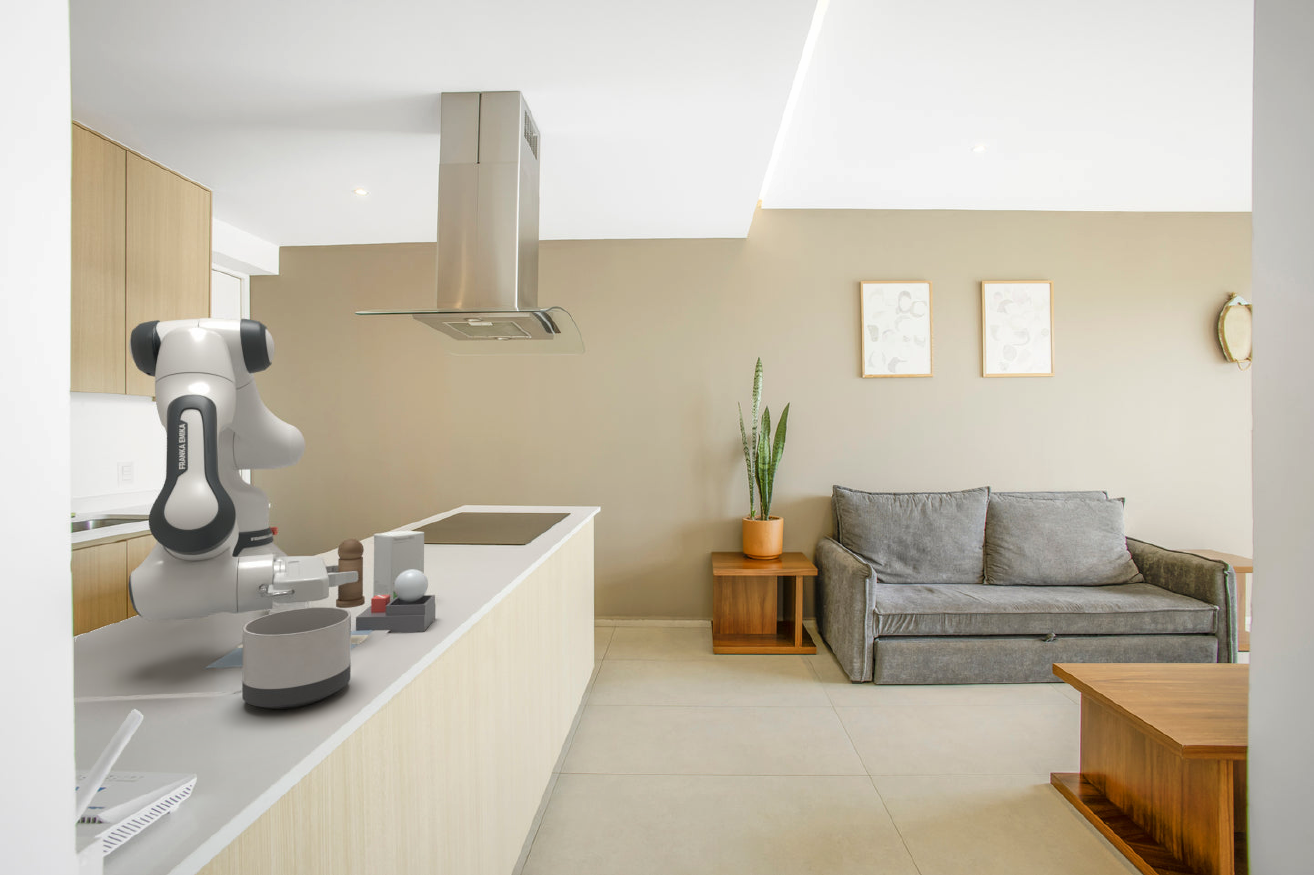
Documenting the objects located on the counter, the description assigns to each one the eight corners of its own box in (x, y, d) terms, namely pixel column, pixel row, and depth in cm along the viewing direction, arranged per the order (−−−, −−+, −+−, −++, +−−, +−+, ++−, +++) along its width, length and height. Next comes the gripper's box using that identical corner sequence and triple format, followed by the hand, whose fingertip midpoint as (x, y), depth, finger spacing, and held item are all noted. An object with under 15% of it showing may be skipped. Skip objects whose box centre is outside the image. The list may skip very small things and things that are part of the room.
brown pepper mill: (342, 601, 105) (342, 537, 105) (368, 600, 106) (368, 537, 106) (331, 608, 101) (332, 541, 101) (358, 607, 101) (359, 541, 101)
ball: (399, 597, 116) (399, 566, 116) (431, 596, 117) (431, 566, 117) (389, 606, 110) (389, 573, 110) (423, 605, 111) (423, 572, 111)
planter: (363, 696, 83) (363, 620, 83) (253, 727, 74) (253, 642, 74) (334, 670, 92) (335, 602, 92) (233, 694, 83) (234, 619, 83)
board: (260, 636, 106) (260, 633, 106) (374, 633, 109) (374, 629, 109) (202, 672, 90) (202, 667, 90) (338, 667, 93) (338, 663, 93)
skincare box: (390, 613, 121) (390, 536, 121) (370, 608, 125) (371, 533, 125) (425, 603, 128) (426, 531, 128) (406, 599, 132) (406, 528, 132)
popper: (371, 620, 116) (371, 591, 116) (435, 618, 118) (435, 589, 118) (355, 633, 108) (356, 602, 108) (424, 631, 110) (424, 600, 110)
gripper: (258, 575, 88) (362, 565, 95) (263, 553, 105) (351, 546, 112) (257, 618, 88) (362, 604, 95) (263, 588, 105) (351, 579, 112)
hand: (356, 572), depth 104 cm, fingers closed on brown pepper mill, 4 cm apart
